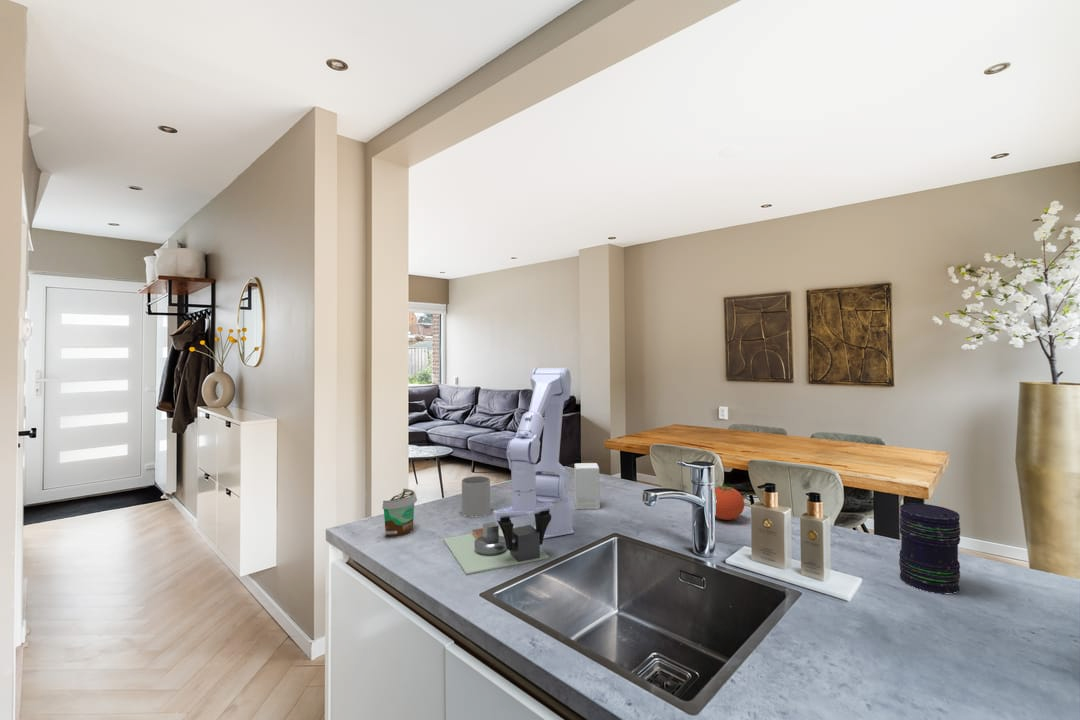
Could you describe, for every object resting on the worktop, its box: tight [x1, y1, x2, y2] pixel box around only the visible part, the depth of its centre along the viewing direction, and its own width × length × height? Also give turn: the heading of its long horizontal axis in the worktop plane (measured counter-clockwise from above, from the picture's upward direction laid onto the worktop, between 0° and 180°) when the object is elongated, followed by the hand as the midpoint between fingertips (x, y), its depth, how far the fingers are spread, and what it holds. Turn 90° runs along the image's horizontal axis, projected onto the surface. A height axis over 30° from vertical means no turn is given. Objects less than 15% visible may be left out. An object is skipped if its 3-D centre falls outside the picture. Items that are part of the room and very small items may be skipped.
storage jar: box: [898, 502, 961, 594], centre depth 103 cm, size 10×10×15 cm
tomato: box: [714, 483, 745, 521], centre depth 142 cm, size 10×10×10 cm
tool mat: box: [442, 525, 550, 576], centre depth 124 cm, size 20×22×1 cm
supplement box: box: [573, 462, 601, 510], centre depth 156 cm, size 7×7×13 cm
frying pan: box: [471, 521, 507, 556], centre depth 126 cm, size 16×8×6 cm, turn 24°
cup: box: [461, 475, 491, 517], centre depth 151 cm, size 8×8×10 cm
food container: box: [381, 488, 418, 538], centre depth 136 cm, size 12×6×10 cm, turn 168°
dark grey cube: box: [510, 524, 541, 562], centre depth 118 cm, size 5×5×6 cm
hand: (524, 546), depth 118 cm, fingers open, 7 cm apart
